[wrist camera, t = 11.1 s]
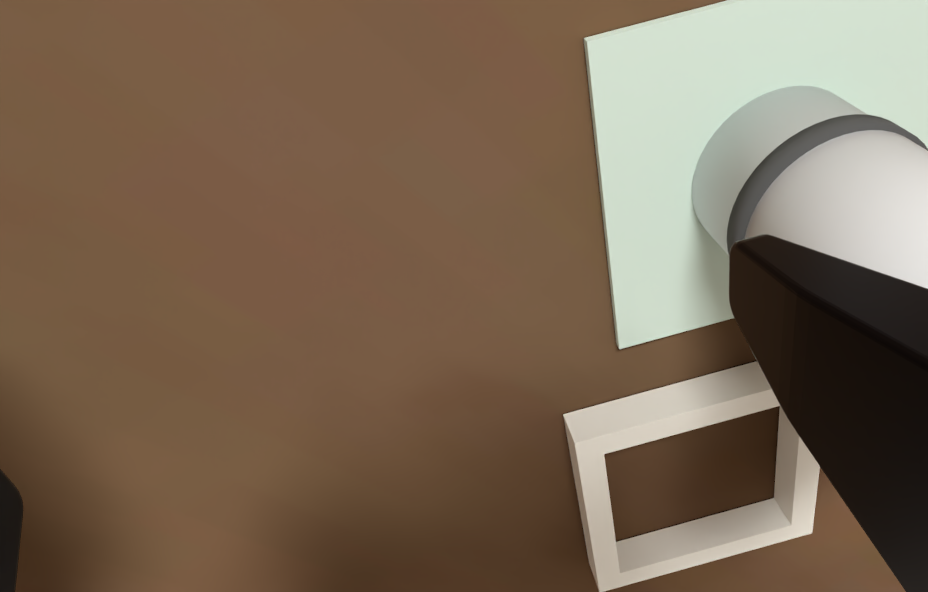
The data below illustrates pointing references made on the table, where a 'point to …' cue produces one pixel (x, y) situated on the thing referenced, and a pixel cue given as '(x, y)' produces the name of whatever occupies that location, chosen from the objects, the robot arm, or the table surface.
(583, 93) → the table surface
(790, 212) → the grey-banded white cylinder
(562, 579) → the table surface
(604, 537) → the white square frame
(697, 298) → the mat
